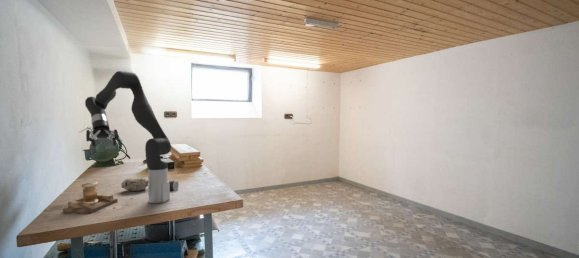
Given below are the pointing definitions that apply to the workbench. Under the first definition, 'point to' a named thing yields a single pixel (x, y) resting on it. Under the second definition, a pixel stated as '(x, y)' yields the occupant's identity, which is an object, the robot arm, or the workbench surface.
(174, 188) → the flashlight
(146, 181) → the pumice stone
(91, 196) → the bobbin
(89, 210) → the notched board
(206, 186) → the workbench surface
